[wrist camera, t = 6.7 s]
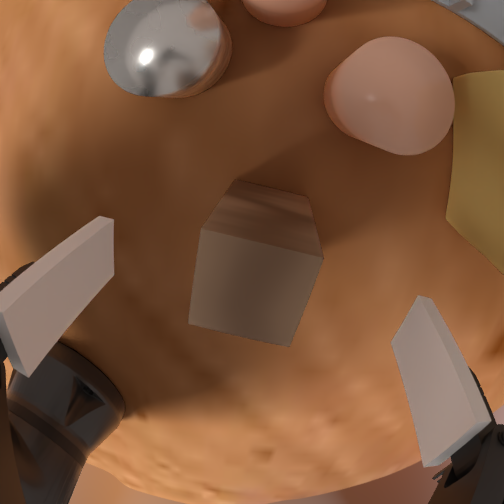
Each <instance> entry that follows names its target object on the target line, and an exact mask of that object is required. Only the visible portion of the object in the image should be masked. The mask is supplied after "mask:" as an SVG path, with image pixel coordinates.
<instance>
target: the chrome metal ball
mask: <svg viewBox="0 0 504 504" xmlns="http://www.w3.org/2000/svg"><path fill="white" fill-rule="evenodd" d="M231 55H232V39H231V36H230V33H229V31H228V28H227V27H226V25H225V24H224V23H223V21H222V20H221V19H220V17H219V16H218V15H217V13H216V12H215V11H214V9H213V8H212V7H211V5H210V4H209V3H208V2H207V1H206V0H133V1H131V2H130V3H129V4H128V5H127V6H125V7H124V8H123V9H122V10H121V12H120V13H119V14H118V15H117V16H116V18H115V19H114V21H113V22H112V24H111V26H110V28H109V30H108V33H107V36H106V39H105V44H104V61H105V65H106V68H107V71H108V73H109V75H110V77H111V78H112V79H113V81H114V82H115V83H116V84H117V85H118V86H119V87H121V88H122V89H124V90H125V91H127V92H129V93H132V94H135V95H139V96H150V97H166V98H186V97H191V96H194V95H197V94H199V93H201V92H203V91H205V90H207V89H208V88H210V87H211V86H212V85H214V84H215V83H216V82H217V81H218V80H219V79H220V78H221V76H222V75H223V74H224V72H225V71H226V69H227V67H228V65H229V62H230V59H231Z"/></svg>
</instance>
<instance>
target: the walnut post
mask: <svg viewBox="0 0 504 504" xmlns="http://www.w3.org/2000/svg"><path fill="white" fill-rule="evenodd" d="M323 259H324V257H323V253H322V248H321V244H320V240H319V236H318V232H317V229H316V225H315V221H314V217H313V213H312V209H311V206H310V202H309V198H308V197H305V196H302V195H298V194H294V193H290V192H286V191H282V190H278V189H274V188H270V187H266V186H262V185H257V184H253V183H249V182H244V181H240V180H236V179H235V180H234V181H233V183H232V184H231V186H230V187H229V188H228V190H227V191H226V193H225V194H224V196H223V197H222V198H221V200H220V201H219V203H218V204H217V206H216V207H215V209H214V210H213V212H212V213H211V214H210V216H209V217H208V219H207V220H206V222H205V223H204V225H203V226H202V228H201V231H200V238H199V244H198V251H197V258H196V265H195V272H194V279H193V287H192V295H191V302H190V311H189V319H188V324H192V325H195V326H199V327H203V328H207V329H211V330H215V331H219V332H223V333H227V334H231V335H235V336H240V337H244V338H248V339H253V340H257V341H262V342H267V343H271V344H276V345H281V346H286V347H290V344H291V342H292V339H293V337H294V335H295V332H296V330H297V327H298V325H299V322H300V320H301V317H302V315H303V312H304V310H305V307H306V305H307V302H308V299H309V297H310V294H311V292H312V289H313V286H314V284H315V281H316V278H317V276H318V273H319V270H320V267H321V265H322V262H323Z"/></svg>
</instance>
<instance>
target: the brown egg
mask: <svg viewBox="0 0 504 504" xmlns="http://www.w3.org/2000/svg"><path fill="white" fill-rule="evenodd" d="M323 98H324V105H325V108H326V111H327V113H328V115H329V117H330V119H331V120H332V122H333V123H334V124H335V125H336V127H338V128H339V129H340V130H341V131H342V132H344V133H345V134H347V135H349V136H351V137H353V138H356V139H358V140H361V141H363V142H366V143H368V144H371V145H373V146H376V147H378V148H381V149H383V150H385V151H388V152H391V153H394V154H399V155H416V154H420V153H424V152H426V151H428V150H430V149H432V148H433V147H435V146H436V145H437V144H438V143H440V142H441V141H442V139H443V138H444V137H445V136H446V134H447V132H448V131H449V129H450V126H451V124H452V121H453V117H454V111H455V99H454V92H453V88H452V84H451V81H450V79H449V77H448V74H447V73H446V71H445V69H444V67H443V66H442V65H441V63H440V62H439V61H438V60H437V58H436V57H435V56H434V55H433V54H432V53H431V52H429V51H428V50H427V49H425V48H424V47H423V46H421V45H419V44H417V43H416V42H413V41H411V40H408V39H405V38H401V37H393V36H392V37H380V38H376V39H373V40H371V41H369V42H367V43H365V44H364V45H362V46H361V47H360V48H358V49H357V50H356V51H355V52H354V53H352V54H351V55H350V56H349V57H348V58H346V59H345V60H344V61H343V62H342V63H340V64H339V65H338V66H337V67H336V68H335V69H334V70H333V71H332V72H331V73H330V74H329V76H328V78H327V80H326V83H325V86H324V91H323Z"/></svg>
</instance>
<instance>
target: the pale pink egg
mask: <svg viewBox="0 0 504 504" xmlns="http://www.w3.org/2000/svg"><path fill="white" fill-rule="evenodd" d="M326 2H327V0H242V3H243V5H244V7H245V8H246V9H247V11H248V12H249V13H250V14H251V15H252V16H254V17H255V18H257V19H258V20H260V21H262V22H264V23H267V24H270V25H274V26H280V27H291V26H298V25H302V24H305V23H307V22H309V21H311V20H313V19H314V18H316V17H317V16H318V15H319V14H320V13H321V12H322V10H323V9H324V7H325V4H326Z"/></svg>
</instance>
